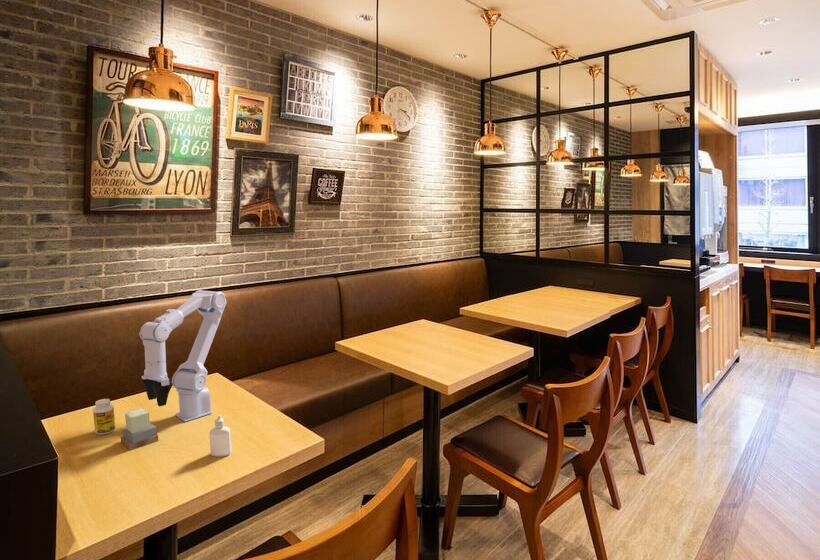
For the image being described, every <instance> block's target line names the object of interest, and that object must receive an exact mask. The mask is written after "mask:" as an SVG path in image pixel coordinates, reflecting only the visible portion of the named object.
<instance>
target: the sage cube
mask: <svg viewBox="0 0 820 560" xmlns="http://www.w3.org/2000/svg"><path fill="white" fill-rule="evenodd" d="M124 415H125V416H124V417H125V428H126V429H127V430H129V431H130V432H131V433H132V434H134V433H137V432H140V431H143V430H146V429H149V428H150V423H151V421H150V412H148V411H147V410H146V409H144V408H143V407H141V408H138V409H135V410H132V411H128V412H125V413H124Z"/></svg>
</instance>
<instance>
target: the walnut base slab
mask: <svg viewBox="0 0 820 560" xmlns="http://www.w3.org/2000/svg"><path fill="white" fill-rule="evenodd" d="M120 441H121V443H122V444H123V446H125V447H126V448H127V449H128V450H129V451H134V450H136V449H139V448H142V447H145V446H148V445H151V444H154V443H157V442H159V434H157V435H155V436H152V437H149V438H147V439H144V440H141V441H139V442H136V443H132V442H131V441H129V440H128V439H126V438H125V437H123V434H122V435H120Z"/></svg>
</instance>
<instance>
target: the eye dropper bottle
mask: <svg viewBox="0 0 820 560" xmlns="http://www.w3.org/2000/svg"><path fill="white" fill-rule="evenodd" d="M224 420H225V419H224V418H222V417H221V414H218V415H217V418H216V419H214V427H212V428H211V429H210V430H209V446H210V447H209V449H210V455H211V456H212V457H215V458H216V457H217V458H218V457H219V458H220V457H228V456H229V455H231V454H232V449H233V448H232V434H231V433H232V432H231V429H230V427H228V426H225V421H224Z"/></svg>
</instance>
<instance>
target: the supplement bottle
mask: <svg viewBox="0 0 820 560" xmlns="http://www.w3.org/2000/svg"><path fill="white" fill-rule="evenodd" d="M94 405H95V407H94V408H93V409H92V413H93V415H92V416H93V424H94V432H95V434H96V435H99V436H100V435H107V434H110V433H112V432H114V431H115V430H116V417H115V409H114V408H115V407H114V405H113V404H111V399H110V398H102V399H98V400H96V401H95V404H94Z"/></svg>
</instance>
